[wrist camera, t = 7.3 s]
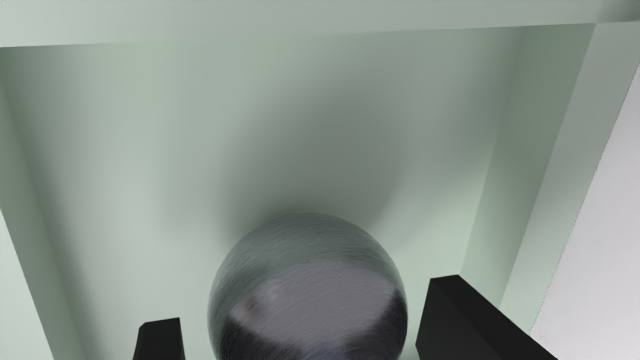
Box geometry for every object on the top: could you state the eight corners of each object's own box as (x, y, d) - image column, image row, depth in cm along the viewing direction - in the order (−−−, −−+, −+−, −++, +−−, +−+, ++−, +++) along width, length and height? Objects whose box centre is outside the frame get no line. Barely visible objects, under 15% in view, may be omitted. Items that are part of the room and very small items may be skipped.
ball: (346, 292, 14) (424, 427, 11) (192, 327, 13) (235, 492, 10) (367, 164, 12) (471, 289, 9) (185, 189, 11) (236, 347, 8)
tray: (453, 370, 19) (488, 436, 17) (72, 446, 16) (62, 535, 14) (590, -83, 11) (686, -55, 9) (-130, -91, 8) (-220, -52, 6)
